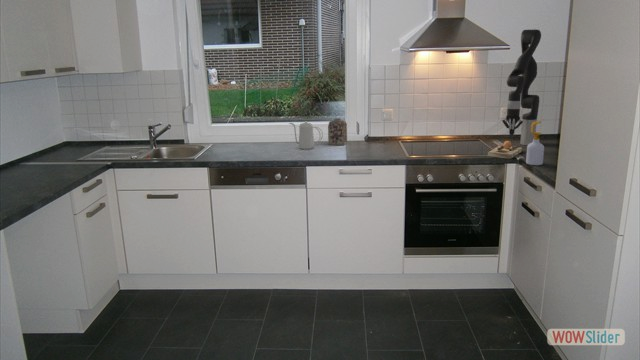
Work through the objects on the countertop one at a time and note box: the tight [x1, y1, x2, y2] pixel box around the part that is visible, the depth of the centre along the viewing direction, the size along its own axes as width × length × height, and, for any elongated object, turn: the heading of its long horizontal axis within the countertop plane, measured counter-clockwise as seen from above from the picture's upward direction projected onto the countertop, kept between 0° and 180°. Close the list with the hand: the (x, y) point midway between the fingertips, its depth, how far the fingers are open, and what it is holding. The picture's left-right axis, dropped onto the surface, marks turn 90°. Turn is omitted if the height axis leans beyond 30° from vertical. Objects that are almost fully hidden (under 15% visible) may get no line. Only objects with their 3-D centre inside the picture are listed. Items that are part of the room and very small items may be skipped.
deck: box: [487, 144, 523, 160], centre depth 326 cm, size 24×14×4 cm, turn 144°
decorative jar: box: [327, 117, 348, 146], centre depth 370 cm, size 12×12×18 cm
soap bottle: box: [525, 120, 545, 166], centre depth 297 cm, size 9×9×25 cm
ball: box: [502, 140, 513, 149], centre depth 328 cm, size 5×5×5 cm
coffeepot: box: [288, 120, 324, 150], centre depth 358 cm, size 11×25×19 cm, turn 68°
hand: (511, 135), depth 333 cm, fingers closed
